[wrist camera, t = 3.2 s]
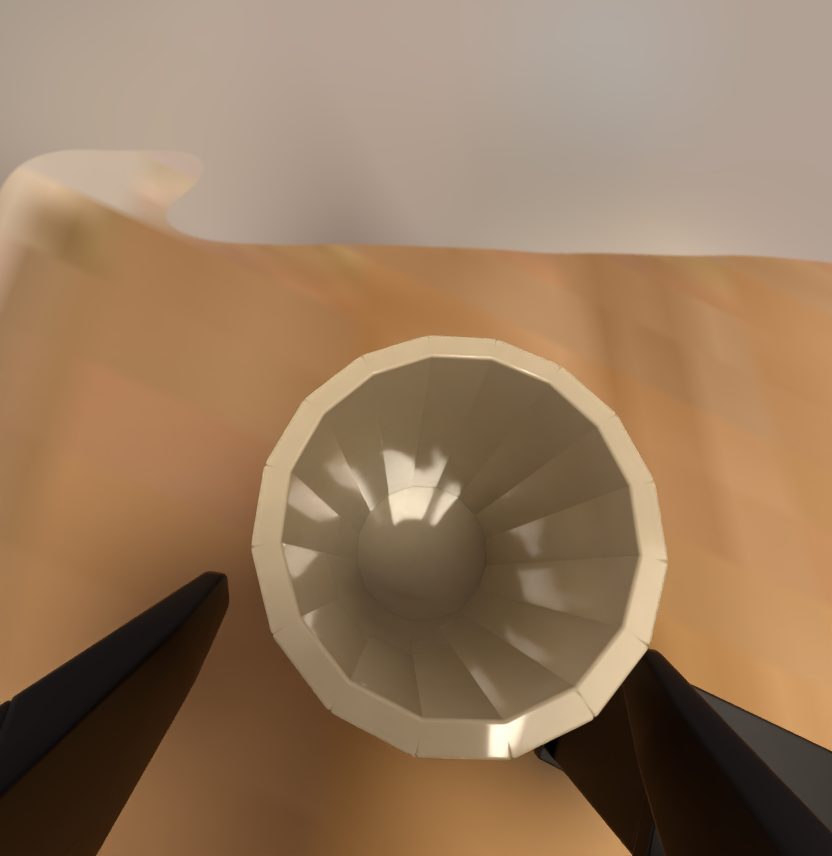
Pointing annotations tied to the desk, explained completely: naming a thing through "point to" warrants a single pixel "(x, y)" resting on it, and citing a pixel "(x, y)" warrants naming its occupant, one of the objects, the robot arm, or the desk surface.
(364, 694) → the pen pot
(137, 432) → the desk surface
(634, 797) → the leg piece
